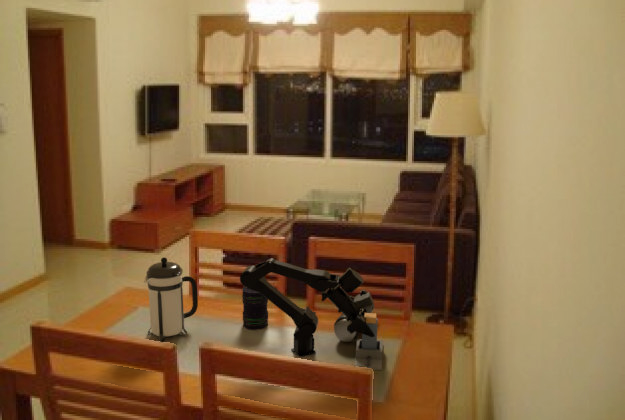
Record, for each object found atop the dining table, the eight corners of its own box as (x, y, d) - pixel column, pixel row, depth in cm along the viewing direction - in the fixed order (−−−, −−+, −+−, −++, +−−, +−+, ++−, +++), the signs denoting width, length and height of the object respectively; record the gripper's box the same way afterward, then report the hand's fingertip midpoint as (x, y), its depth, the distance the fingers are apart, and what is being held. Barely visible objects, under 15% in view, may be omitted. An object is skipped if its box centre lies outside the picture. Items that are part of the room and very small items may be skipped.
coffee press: (180, 345, 215) (177, 265, 209) (139, 341, 218) (135, 262, 212) (199, 326, 232) (196, 251, 225) (160, 322, 235) (157, 248, 228)
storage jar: (270, 320, 237) (269, 284, 234) (266, 330, 228) (265, 293, 225) (245, 319, 238) (244, 283, 235) (240, 329, 229) (239, 292, 226)
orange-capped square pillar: (361, 353, 205) (362, 317, 202) (362, 347, 210) (363, 312, 207) (376, 354, 204) (377, 318, 201) (376, 348, 209) (377, 313, 206)
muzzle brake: (374, 318, 240) (375, 294, 238) (357, 347, 214) (358, 320, 212) (351, 315, 243) (352, 291, 241) (331, 344, 217) (332, 317, 215)
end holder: (354, 368, 198) (354, 357, 197) (357, 342, 218) (358, 332, 217) (381, 370, 197) (382, 359, 196) (382, 344, 216) (383, 333, 216)
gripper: (358, 295, 193) (391, 329, 194) (360, 277, 211) (391, 308, 212) (333, 317, 196) (366, 350, 197) (338, 297, 214) (368, 327, 215)
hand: (373, 333), depth 205 cm, fingers closed on orange-capped square pillar, 5 cm apart
